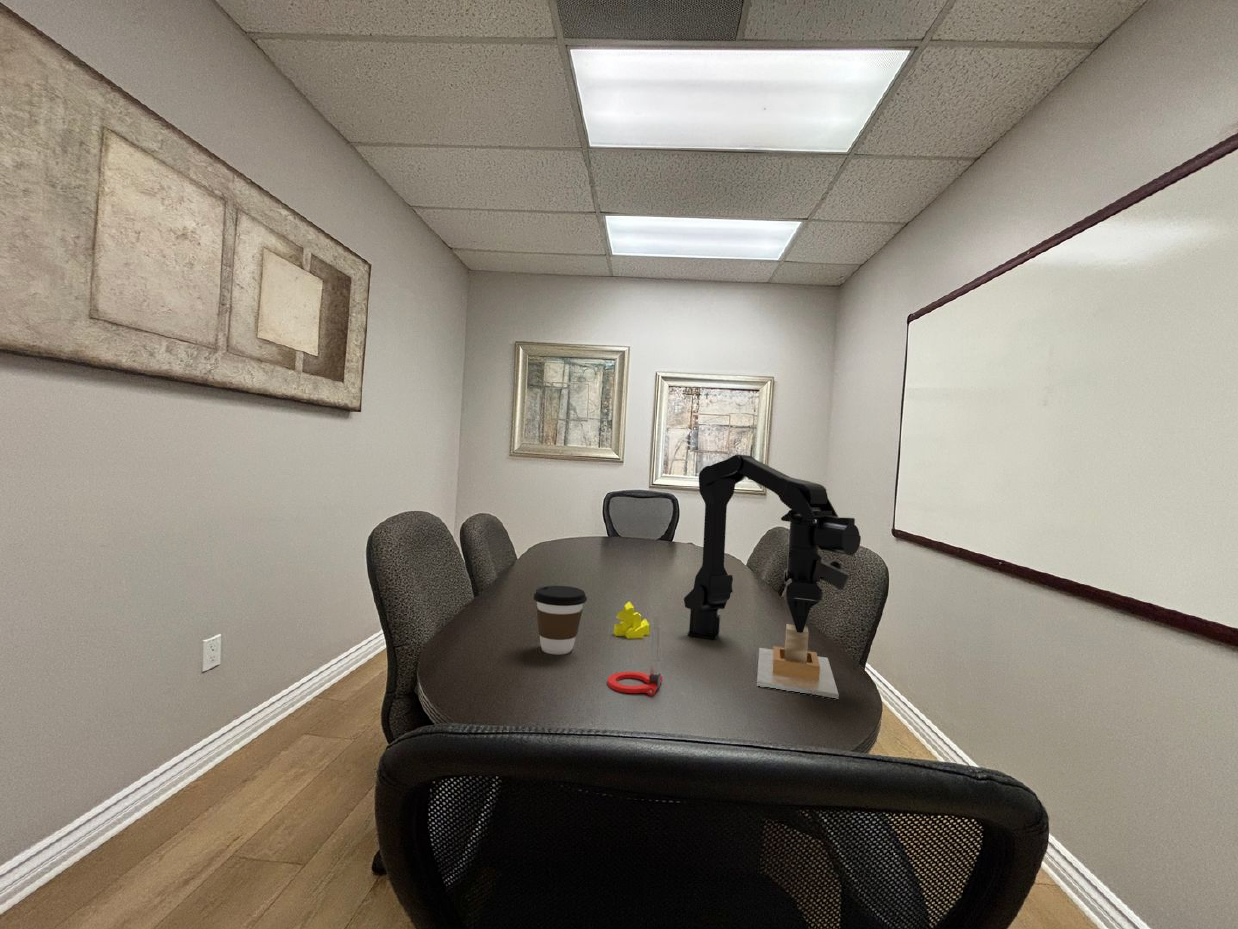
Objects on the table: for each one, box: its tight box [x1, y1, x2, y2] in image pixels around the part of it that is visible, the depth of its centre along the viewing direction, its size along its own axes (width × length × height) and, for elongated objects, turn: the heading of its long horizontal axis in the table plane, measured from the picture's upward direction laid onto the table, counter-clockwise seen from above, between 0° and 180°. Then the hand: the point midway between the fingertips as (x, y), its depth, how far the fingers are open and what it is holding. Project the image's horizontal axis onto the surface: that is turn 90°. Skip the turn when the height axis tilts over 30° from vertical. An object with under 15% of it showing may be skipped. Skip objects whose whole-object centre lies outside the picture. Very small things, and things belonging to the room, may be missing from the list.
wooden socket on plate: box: [756, 645, 840, 700], centre depth 110 cm, size 14×20×4 cm
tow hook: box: [607, 614, 663, 697], centre depth 99 cm, size 8×13×9 cm
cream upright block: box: [784, 623, 810, 662], centre depth 110 cm, size 4×4×8 cm
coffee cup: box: [533, 585, 588, 655], centre depth 114 cm, size 11×11×12 cm
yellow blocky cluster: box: [613, 601, 650, 640], centre depth 128 cm, size 6×8×8 cm
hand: (798, 626), depth 109 cm, fingers open, 9 cm apart
